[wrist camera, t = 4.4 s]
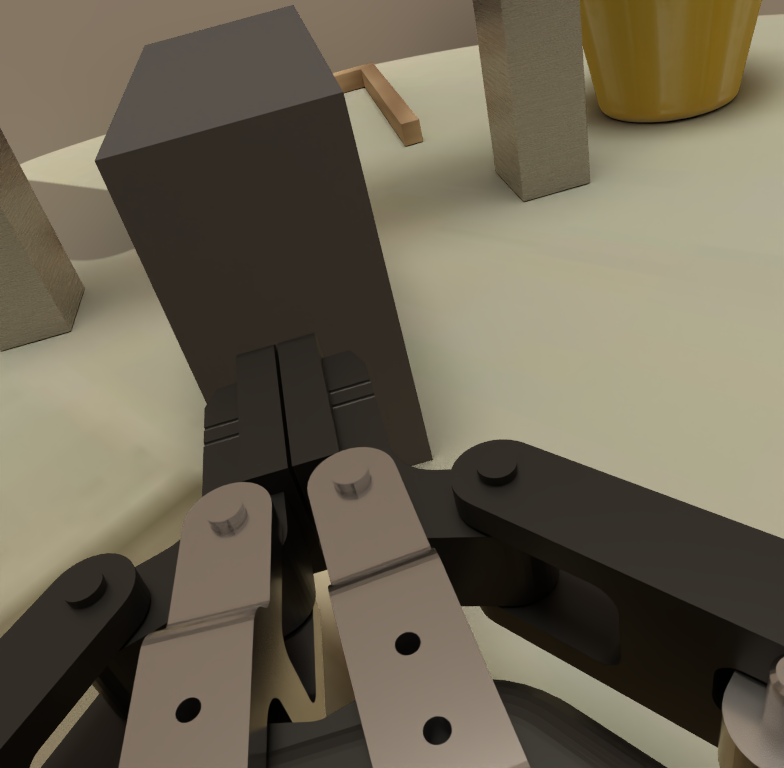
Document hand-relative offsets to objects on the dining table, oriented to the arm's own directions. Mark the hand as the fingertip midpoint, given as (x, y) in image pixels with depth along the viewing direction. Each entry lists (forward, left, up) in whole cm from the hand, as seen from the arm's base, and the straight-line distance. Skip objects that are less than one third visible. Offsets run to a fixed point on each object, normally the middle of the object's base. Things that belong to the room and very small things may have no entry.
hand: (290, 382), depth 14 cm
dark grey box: (0, +10, -6) cm, 11 cm away
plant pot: (+20, +24, -6) cm, 32 cm away
